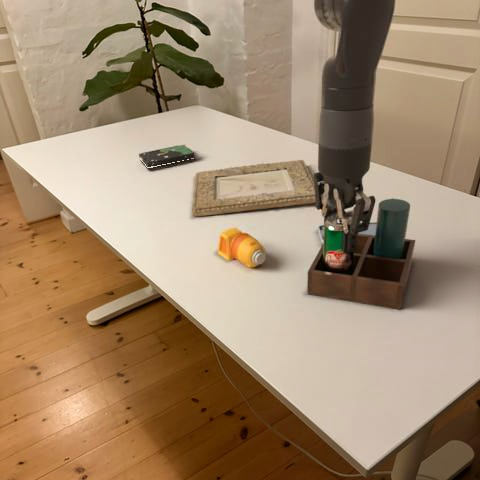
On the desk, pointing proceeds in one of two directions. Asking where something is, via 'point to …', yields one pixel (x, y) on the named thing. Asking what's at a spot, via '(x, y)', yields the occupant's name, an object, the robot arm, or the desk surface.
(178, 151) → the disk drive
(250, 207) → the picture frame
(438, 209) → the desk surface
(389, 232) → the can
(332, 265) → the soda can
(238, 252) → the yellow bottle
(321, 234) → the smartphone
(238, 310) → the desk surface
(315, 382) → the desk surface
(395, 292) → the brown wooden compartment tray
